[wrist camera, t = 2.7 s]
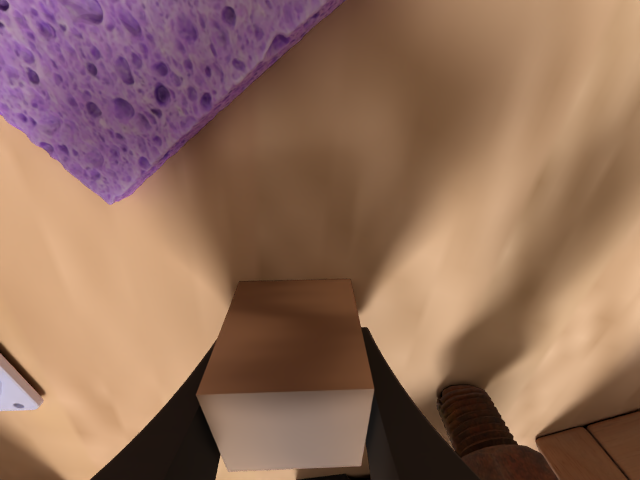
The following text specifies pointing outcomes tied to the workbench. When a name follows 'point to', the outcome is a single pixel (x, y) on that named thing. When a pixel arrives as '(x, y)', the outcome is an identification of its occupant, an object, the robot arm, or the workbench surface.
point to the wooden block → (596, 450)
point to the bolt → (487, 438)
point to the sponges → (135, 75)
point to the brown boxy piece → (289, 378)
